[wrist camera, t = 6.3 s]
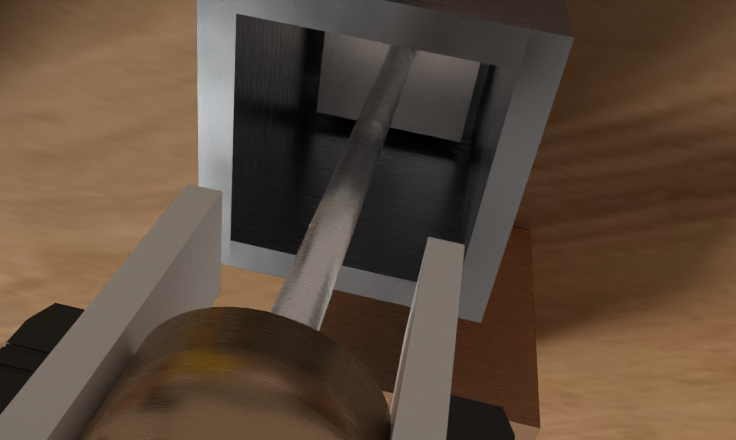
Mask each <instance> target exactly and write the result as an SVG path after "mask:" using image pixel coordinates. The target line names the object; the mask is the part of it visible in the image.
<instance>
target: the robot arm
mask: <svg viewBox="0 0 736 440" xmlns="http://www.w3.org/2000/svg"><path fill="white" fill-rule="evenodd" d="M221 237H222V191H218V190H214V189H209V188H205V187H200V186H196V185H191V184H187V185H186V186H185V187H184V189H183V190H182V191H181V192H180V193H179V195H178V196H177V197H176V198H175V200H174V201H173V202H172V203H171V205H170V206H169V207H168V208H167V210H166V211H165V212H164V213H163V214H162V216H161V217H160V218H159V219H158V221H157V222H156V223H155V224H154V226H153V227H152V228H151V229H150V231H149V232H148V233H147V234H146V235H145V237H144V238H143V239H142V240H141V242H140V243H139V244H138V245H137V247H136V248H135V249H134V250H133V252H132V253H131V254H130V255H129V256H128V258H127V259H126V260H125V261H124V263H123V264H122V265H121V266H120V268H119V269H118V270H117V271H116V273H115V274H114V275H113V276H112V277H111V279H110V280H109V281H108V282H107V284H106V285H105V286H104V287H103V289H102V290H101V291H100V292H99V294H98V295H97V296H96V297H95V298H94V300H93V301H92V302H91V303H90V305H89V306H88V307H87V308H86V310H83V309H79V308H75V307H71V306H67V305H62V304H58V303H54V304H53V305H51V306H49V307H48V308H46V309H44V310H42V311H41V312H39V313H37V314H36V315H34V316H32V317H31V318H29V319H27V320H26V321H25V322H24V323H23V324H22V326H21V327H20V328H19V329H18V330H17V331H16V332H15V333H14V334H13V336H12V337H11V338H10V339H9V340H8V341H7V344H6V346H5V347H2V348H1V349H0V440H78V439H79V438H80V436H81V435H82V433H83V432H84V430H85V429H86V427H87V426H88V424H89V423H90V421H91V420H92V418H93V416H94V415H95V413H96V412H97V410H98V409H99V407H100V406H101V404H102V403H103V401H104V400H105V398H106V397H107V395H108V394H109V392H110V391H111V389H112V388H113V386H114V385H115V383H116V382H117V380H118V378H119V377H120V375H121V374H122V372H123V371H124V369H125V368H126V366H127V365H128V363H129V362H130V360H131V359H132V357H133V356H134V354H135V353H136V351H137V350H138V348H139V347H140V345H141V344H142V342H143V341H144V339H145V338H146V336H147V335H148V334H149V333H150V332H151V331H152V330H153V329H154V328H156V327H157V326H158V325H160V324H161V323H163V322H164V321H166V320H168V319H170V318H172V317H174V316H177V315H179V314H182V313H185V312H189V311H192V310H196V309H203V308H210V307H211V306H212V304H213V302H214V301H215V299H216V297H217V295H218V294H219V292H220V290H221ZM464 248H465V245H463V244H459V243H454V242H450V241H445V240H441V239H436V238H432V237H428V240H427V244H426V248H425V252H424V256H423V260H422V264H421V269H420V273H419V277H418V281H417V285H416V289H415V294H414V298H413V302H412V306H411V310H410V314H409V319H408V323H407V327H406V331H405V336H404V341H403V346H402V352H401V357H400V362H399V368H398V373H397V378H396V383H395V389H394V394H393V399H392V404H391V410H390V415H391V430H390V435H389V440H515V434H514V432H513V429H512V427H511V425H510V423H509V420H508V418H507V416H506V414H505V411H504V409H503V407H501V406H497V405H492V404H488V403H484V402H480V401H475V400H471V399H467V398H463V397H458V396H454V395H450V394H451V383H452V373H453V362H454V352H455V341H456V331H457V321H458V310H459V300H460V289H461V279H462V269H463V258H464Z"/></svg>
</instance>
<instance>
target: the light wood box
mask: <svg viewBox="0 0 736 440" xmlns="http://www.w3.org/2000/svg"><path fill="white" fill-rule="evenodd" d="M410 310H411V307H409V306H404V305H400V304H395V303H391V302H387V301H382V300H378V299H373V298H369V297H365V296H360V295H356V294H352V293H347V292H343V291H338V290H334V289H333V292H332V295H331V298H330V301H329V304H328V307H327V309H326V312H325V315H324V318H323V321H322V324H321V327H320V330H319V332H321V333H323V334H324V335H326V336H327V337H329V338H331V339H332V340H334V341H335V342H337V343H338V344H340V345H341V346H342V347H344V348H345V349H346V350H347V351H349V352H350V353H351V354H352V355H353V356H354V357H355V358H357V359H358V360H359V361H360V362H361V363H362V364H363V365H364V366H365V368H366V369H367V370H368V371H369V372H370V374H371V375H372V376H373V377H374V379H375V380H376V382H377V384H378V385H379V387H380V388H381V390H382V392H383V394H384V396H385V399H386V401H387V404H388V407H389V411H390V410H391V404H392V399H393V394H394V389H395V383H396V378H397V373H398V368H399V362H400V357H401V352H402V346H403V341H404V336H405V331H406V327H407V323H408V319H409V314H410ZM450 395H454V396H458V397H463V398H467V399H471V400H475V401H480V402H484V403H488V404H492V405H497V406H501V407H503V409H504V411H505V414H506V416H507V418H508V420H509V423H510V425H511V427H512V429H513V432H514V434H515V440H535V439H536V437H537V435H538V432H539V430H540V413H539V393H538V373H537V353H536V333H535V313H534V293H533V273H532V253H531V233H530V230H526V229H521V228H517V227H512V230H511V233H510V236H509V239H508V242H507V245H506V248H505V251H504V254H503V257H502V260H501V263H500V266H499V269H498V272H497V275H496V278H495V281H494V284H493V287H492V290H491V294H490V297H489V300H488V303H487V306H486V309H485V312H484V315H483V318H482V321H481V323H479V322H474V321H470V320H466V319H461V318H458V321H457V331H456V341H455V352H454V362H453V373H452V383H451V394H450Z"/></svg>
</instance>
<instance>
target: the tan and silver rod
mask: <svg viewBox="0 0 736 440" xmlns="http://www.w3.org/2000/svg"><path fill="white" fill-rule="evenodd" d="M479 66H480V62H475V61H470V60H465V59H460V58H455V57H450V56H445V55H440V54H435V53H430V52H425V51H420V50H415V49H410V48H405V47H400V46H395V45H390V44H385V43H380V42H376V41H371V40H366V39H361V38H356V37H351V36H346V35H341V34H336V33H331V32H326V31H325V37H324V46H323V56H322V65H321V75H320V84H319V94H318V104H317V112H319V113H324V114H329V115H334V116H338V117H343V118H348V119H353V120H357V122H356V124H355V126H354V128H353V131H352V133H351V135H350V137H349V140H348V142H347V144H346V146H345V148H344V151H343V153H342V155H341V157H340V159H339V162H338V164H337V166H336V168H335V171H334V173H333V175H332V177H331V179H330V182H329V184H328V186H327V188H326V190H325V193H324V195H323V197H322V199H321V201H320V204H319V206H318V208H317V210H316V213H315V215H314V217H313V219H312V221H311V224H310V226H309V228H308V230H307V232H306V235H305V237H304V239H303V241H302V244H301V246H300V248H299V250H298V252H297V255H296V257H295V259H294V261H293V263H292V266H291V268H290V270H289V272H288V275H287V277H286V279H285V281H284V283H283V286H282V288H281V290H280V292H279V294H278V297H277V299H276V301H275V303H274V306H273V308H272V310H271V312H266V311H260V310H255V309H249V308H239V307H210V308H203V309H196V310H192V311H189V312H185V313H182V314H179V315H177V316H174V317H172V318H170V319H168V320H166V321H164V322H163V323H161V324H160V325H158V326H157V327H156V328H154V329H153V330H152V331H151V332H150V333H149V334H148V335H147V336H146V338H145V339H144V341H143V342H142V344H141V345H140V347H139V348H138V350H137V351H136V353H135V354H134V356H133V357H132V359H131V360H130V362H129V363H128V365H127V366H126V368H125V369H124V371H123V372H122V374H121V375H120V377H119V378H118V380H117V382H116V383H115V385H114V386H113V388H112V389H111V391H110V392H109V394H108V395H107V397H106V398H105V400H104V401H103V403H102V404H101V406H100V407H99V409H98V410H97V412H96V413H95V415H94V416H93V418H92V420H91V421H90V423H89V424H88V426H87V427H86V429H85V430H84V432H83V433H82V435H81V436H80V438H79V439H78V440H389V435H390V430H391V415H390V411H389V407H388V404H387V401H386V399H385V396H384V394H383V392H382V390H381V388H380V387H379V385H378V384H377V382H376V380H375V379H374V377H373V376H372V375H371V374H370V372H369V371H368V370H367V369H366V368H365V366H364V365H363V364H362V363H361V362H360V361H359V360H358V359H357V358H355V357H354V356H353V355H352V354H351V353H350V352H349V351H347V350H346V349H345V348H344V347H342V346H341V345H340V344H338V343H337V342H335V341H334V340H332V339H331V338H329V337H327V336H326V335H324V334H323V333H321V332H319V330H320V327H321V324H322V321H323V318H324V315H325V312H326V309H327V307H328V304H329V301H330V298H331V295H332V292H333V289H334V286H335V284H336V281H337V278H338V275H339V272H340V269H341V266H342V263H343V260H344V258H345V255H346V252H347V249H348V246H349V243H350V240H351V237H352V235H353V232H354V229H355V226H356V223H357V220H358V217H359V214H360V211H361V209H362V206H363V203H364V200H365V197H366V194H367V191H368V188H369V186H370V183H371V180H372V177H373V174H374V171H375V168H376V165H377V163H378V160H379V157H380V154H381V151H382V148H383V145H384V142H385V139H386V137H387V134H388V131H389V128H390V127H391V128H396V129H400V130H405V131H410V132H415V133H419V134H424V135H429V136H434V137H439V138H443V139H448V140H453V141H458V142H461V138H462V134H463V130H464V126H465V122H466V118H467V114H468V110H469V106H470V102H471V98H472V94H473V90H474V86H475V82H476V78H477V74H478V70H479Z"/></svg>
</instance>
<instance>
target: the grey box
mask: <svg viewBox="0 0 736 440" xmlns="http://www.w3.org/2000/svg"><path fill="white" fill-rule="evenodd" d="M325 31H326V32H331V33H336V34H341V35H346V36H351V37H356V38H361V39H366V40H371V41H376V42H380V43H385V44H390V45H395V46H400V47H405V48H410V49H415V50H420V51H425V52H430V53H435V54H440V55H445V56H450V57H455V58H460V59H465V60H470V61H475V62H480V66H479V70H478V74H477V78H476V82H475V86H474V90H473V94H472V98H471V102H470V106H469V110H468V114H467V118H466V122H465V126H464V130H463V134H462V138H461V142H458V141H453V140H448V139H443V138H439V137H434V136H429V135H424V134H419V133H415V132H410V131H405V130H400V129H396V128H391V127H390V128H389V131H388V134H387V137H386V139H385V142H384V145H383V148H382V151H381V154H380V157H379V160H378V163H377V165H376V168H375V171H374V174H373V177H372V180H371V183H370V186H369V188H368V191H367V194H366V197H365V200H364V203H363V206H362V209H361V211H360V214H359V217H358V220H357V223H356V226H355V229H354V232H353V235H352V237H351V240H350V243H349V246H348V249H347V252H346V255H345V258H344V260H343V263H342V266H341V269H340V272H339V275H338V278H337V281H336V284H335V286H334V290H338V291H343V292H347V293H352V294H356V295H360V296H365V297H369V298H373V299H378V300H382V301H387V302H391V303H395V304H400V305H404V306H409V307H411V306H412V302H413V298H414V294H415V289H416V285H417V281H418V277H419V273H420V269H421V264H422V260H423V256H424V252H425V248H426V244H427V240H428V237H432V238H436V239H441V240H445V241H450V242H454V243H459V244H463V245H465V248H464V258H463V269H462V279H461V289H460V300H459V310H458V318H461V319H466V320H470V321H474V322H479V323H481V321H482V318H483V315H484V312H485V309H486V306H487V303H488V300H489V297H490V294H491V290H492V287H493V284H494V281H495V278H496V275H497V272H498V269H499V266H500V263H501V260H502V257H503V254H504V251H505V248H506V245H507V242H508V239H509V236H510V233H511V230H512V227H513V224H514V221H515V218H516V214H517V211H518V208H519V205H520V202H521V199H522V196H523V193H524V190H525V187H526V184H527V181H528V178H529V175H530V172H531V169H532V166H533V163H534V160H535V157H536V154H537V151H538V148H539V145H540V142H541V138H542V135H543V132H544V129H545V126H546V123H547V120H548V117H549V114H550V111H551V108H552V105H553V102H554V99H555V96H556V93H557V90H558V87H559V84H560V81H561V78H562V75H563V72H564V69H565V66H566V62H567V59H568V56H569V53H570V50H571V47H572V44H573V41H574V38H575V37H574V34H573V30H572V26H571V22H570V19H569V15H568V11H567V7H566V3H565V0H197V60H198V173H199V186H200V187H205V188H209V189H214V190H218V191H222V237H221V264H224V265H229V266H233V267H237V268H242V269H246V270H251V271H255V272H259V273H264V274H268V275H273V276H277V277H281V278H286V277H287V275H288V272H289V270H290V268H291V266H292V263H293V261H294V259H295V257H296V255H297V252H298V250H299V248H300V246H301V244H302V241H303V239H304V237H305V235H306V232H307V230H308V228H309V226H310V224H311V221H312V219H313V217H314V215H315V213H316V210H317V208H318V206H319V204H320V201H321V199H322V197H323V195H324V193H325V190H326V188H327V186H328V184H329V182H330V179H331V177H332V175H333V173H334V171H335V168H336V166H337V164H338V162H339V159H340V157H341V155H342V153H343V151H344V148H345V146H346V144H347V142H348V140H349V137H350V135H351V133H352V131H353V128H354V126H355V124H356V122H357V120H353V119H348V118H343V117H338V116H334V115H329V114H324V113H319V112H317V104H318V94H319V84H320V75H321V65H322V56H323V46H324V37H325Z"/></svg>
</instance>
